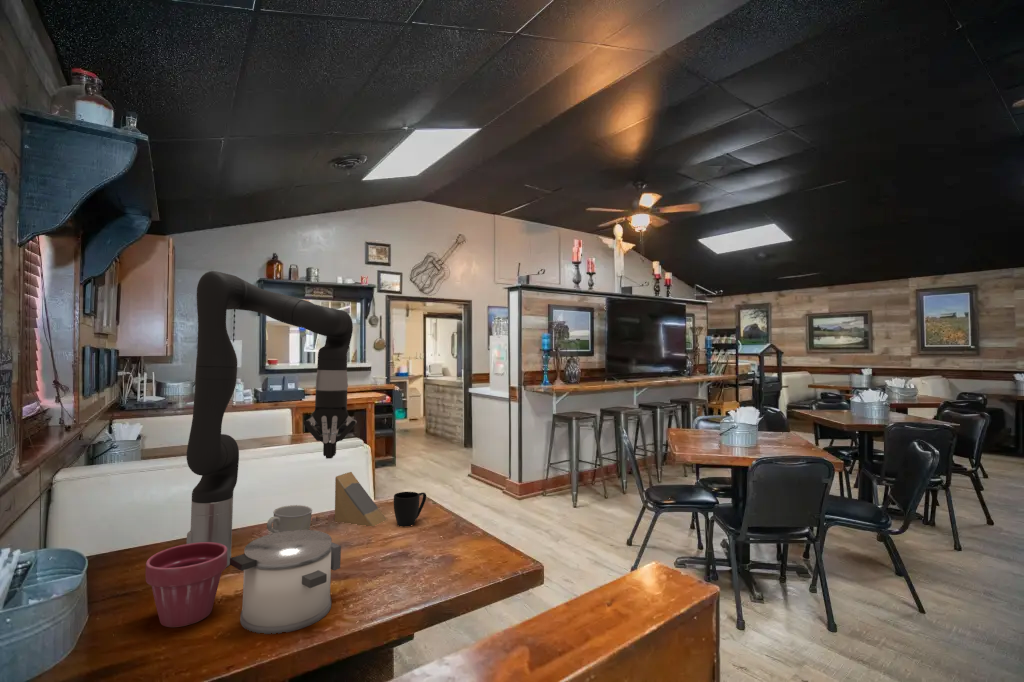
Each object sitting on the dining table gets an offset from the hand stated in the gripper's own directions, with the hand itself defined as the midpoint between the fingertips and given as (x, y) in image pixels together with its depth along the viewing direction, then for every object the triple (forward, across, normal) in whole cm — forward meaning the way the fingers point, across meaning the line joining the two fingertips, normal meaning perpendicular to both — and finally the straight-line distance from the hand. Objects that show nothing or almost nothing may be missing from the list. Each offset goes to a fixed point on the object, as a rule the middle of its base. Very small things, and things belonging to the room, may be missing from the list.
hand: (329, 457), depth 126 cm
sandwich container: (+29, +4, +42) cm, 52 cm away
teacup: (+29, -16, +29) cm, 44 cm away
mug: (+29, +20, +38) cm, 52 cm away
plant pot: (+29, -25, -16) cm, 42 cm away
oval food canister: (+29, -5, -17) cm, 34 cm away
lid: (+17, -6, -18) cm, 25 cm away
